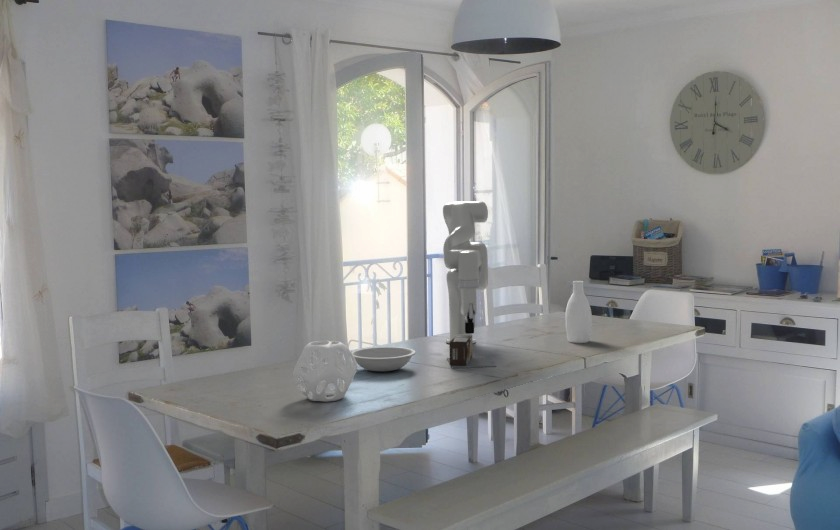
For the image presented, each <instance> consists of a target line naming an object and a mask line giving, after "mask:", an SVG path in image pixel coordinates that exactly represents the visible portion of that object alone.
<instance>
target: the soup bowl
mask: <svg viewBox="0 0 840 530" xmlns="http://www.w3.org/2000/svg"><path fill="white" fill-rule="evenodd" d="M350 351H351V350H350ZM351 352H352V354H353V356H354V358H355V360H356V362H357V366H360V367H361V368H362V369H365V370H367V371H371V372H372V371H373V372H392V371H396V370H399V369H401V368H403V367H405V366H406V365H407V364H408V363H409V362H410V361H411V358H412V357H413V356H414V355H416V353H417V351H416V350H415V349H413V348H408V347H402V346H398V347H397V346H373V347H365V348H364V347H363V348H357V349H354V350H352V351H351Z"/></svg>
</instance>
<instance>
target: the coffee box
mask: <svg viewBox="0 0 840 530" xmlns="http://www.w3.org/2000/svg"><path fill="white" fill-rule="evenodd" d="M472 338H473V333H472V334H457V335H456V336H455V337H454V338H453V339H452V340H451V341H450V344H449V358H450V364H449V366H450V367H451V366H466V365H467V364H468V362H469V361H470V360H471V358H472V357H473V355H474V354H473V353H474V352H473V351H474V349H473V346H474V345H473V343H472Z"/></svg>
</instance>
